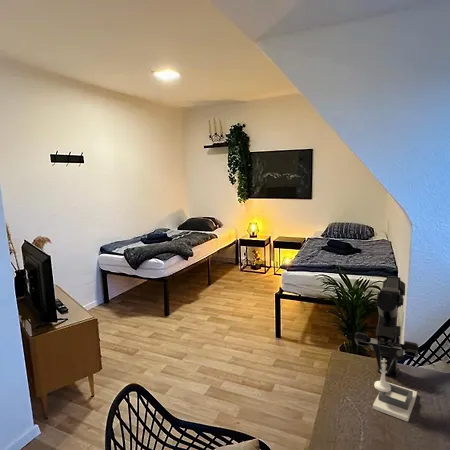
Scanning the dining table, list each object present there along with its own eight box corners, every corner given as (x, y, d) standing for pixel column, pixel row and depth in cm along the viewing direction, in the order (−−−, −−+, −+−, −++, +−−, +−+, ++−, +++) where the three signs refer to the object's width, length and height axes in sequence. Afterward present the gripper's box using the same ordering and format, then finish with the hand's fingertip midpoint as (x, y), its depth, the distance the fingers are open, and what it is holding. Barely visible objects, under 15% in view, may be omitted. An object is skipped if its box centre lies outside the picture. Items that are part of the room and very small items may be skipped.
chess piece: (394, 391, 104) (396, 362, 102) (379, 392, 104) (380, 363, 102) (385, 382, 109) (387, 354, 107) (371, 382, 108) (372, 354, 107)
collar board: (384, 384, 117) (385, 376, 116) (416, 394, 111) (417, 386, 110) (372, 408, 104) (372, 399, 104) (407, 421, 98) (408, 412, 98)
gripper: (355, 309, 111) (349, 355, 103) (419, 319, 101) (417, 370, 94) (359, 322, 119) (353, 365, 111) (418, 332, 109) (417, 381, 101)
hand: (383, 370), depth 104 cm, fingers closed on chess piece
